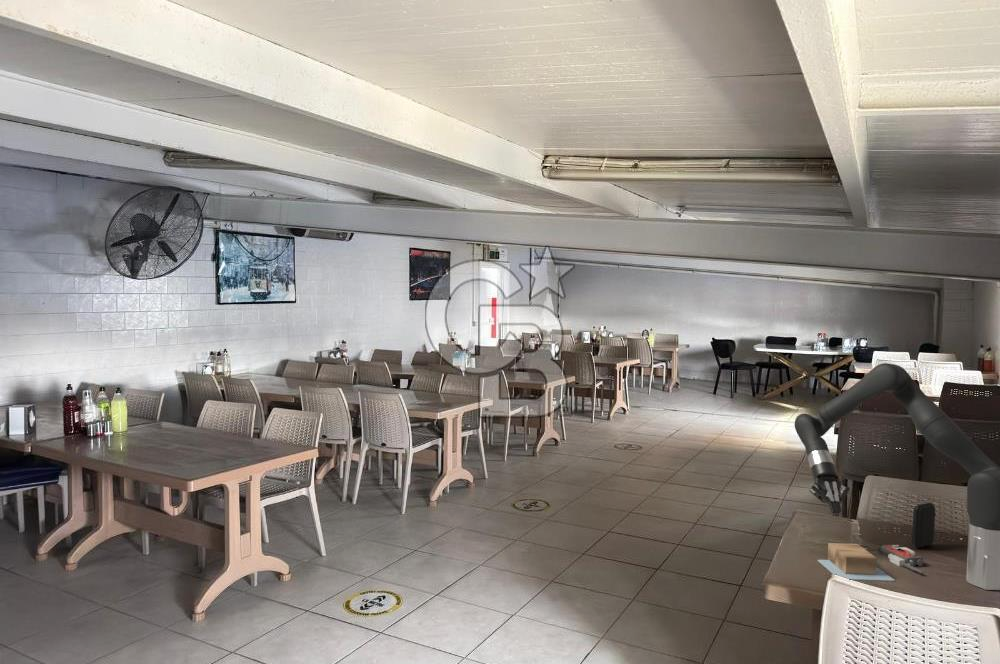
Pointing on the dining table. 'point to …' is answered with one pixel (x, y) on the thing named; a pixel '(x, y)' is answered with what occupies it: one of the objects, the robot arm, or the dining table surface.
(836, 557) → the wood grain block
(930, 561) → the dining table surface
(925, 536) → the carrying case or bag
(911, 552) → the walkie-talkie
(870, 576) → the mat
